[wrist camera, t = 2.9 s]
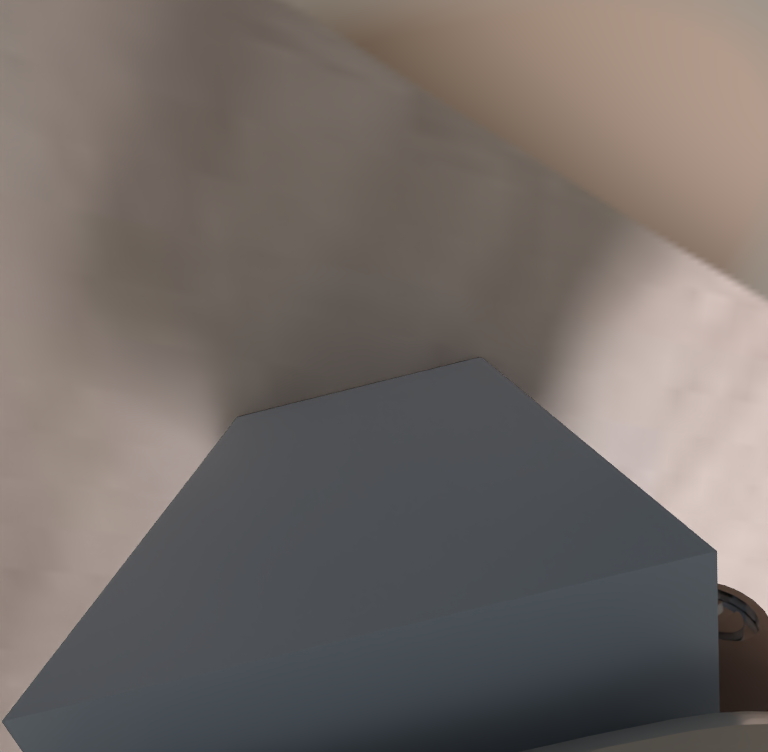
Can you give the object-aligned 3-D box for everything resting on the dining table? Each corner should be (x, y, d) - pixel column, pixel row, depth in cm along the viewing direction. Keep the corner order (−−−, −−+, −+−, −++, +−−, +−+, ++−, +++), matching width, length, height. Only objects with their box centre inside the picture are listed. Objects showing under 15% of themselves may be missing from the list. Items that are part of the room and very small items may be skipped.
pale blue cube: (518, 561, 15) (723, 959, 6) (308, 611, 15) (240, 1068, 7) (481, 356, 13) (717, 551, 4) (237, 417, 13) (1, 721, 4)
